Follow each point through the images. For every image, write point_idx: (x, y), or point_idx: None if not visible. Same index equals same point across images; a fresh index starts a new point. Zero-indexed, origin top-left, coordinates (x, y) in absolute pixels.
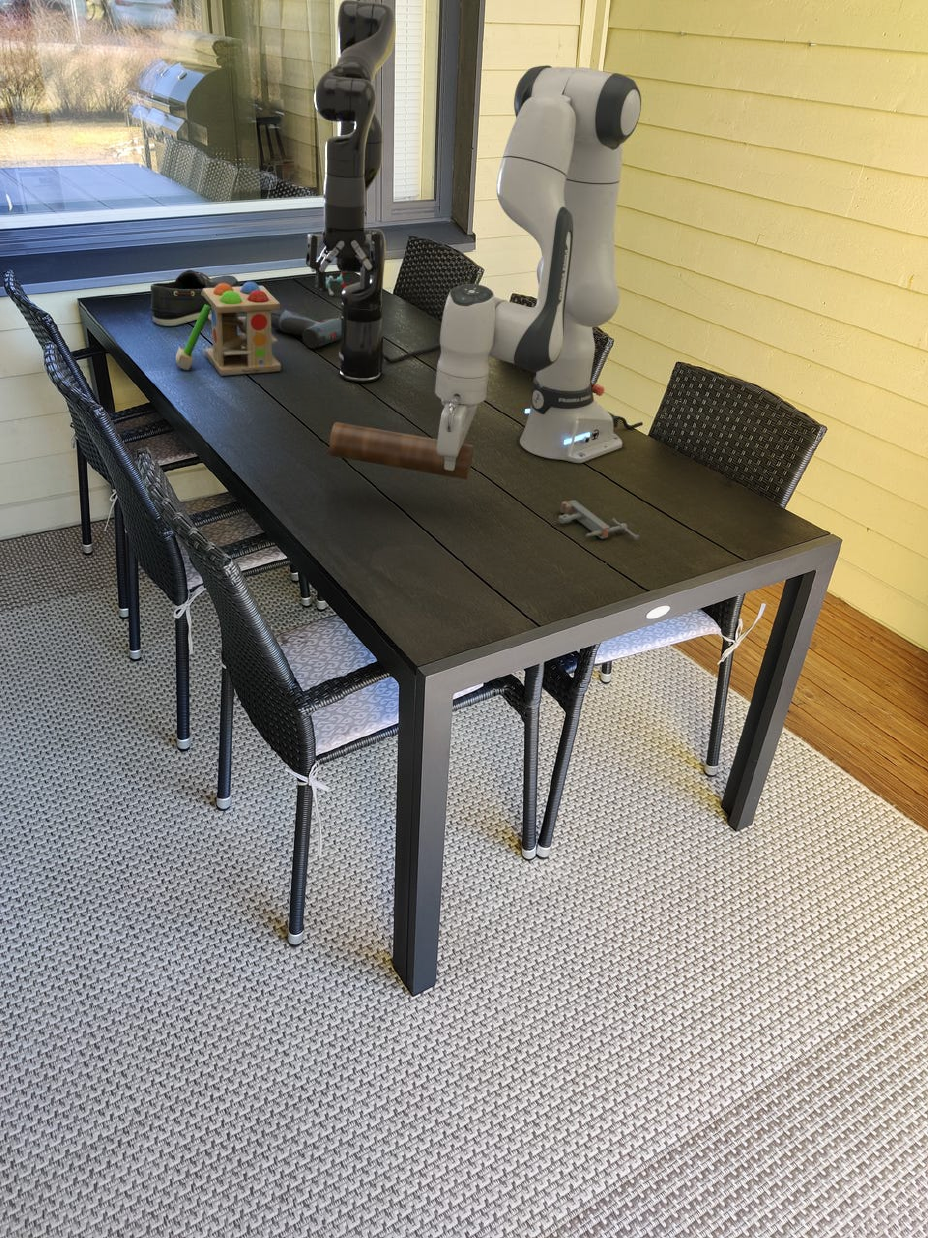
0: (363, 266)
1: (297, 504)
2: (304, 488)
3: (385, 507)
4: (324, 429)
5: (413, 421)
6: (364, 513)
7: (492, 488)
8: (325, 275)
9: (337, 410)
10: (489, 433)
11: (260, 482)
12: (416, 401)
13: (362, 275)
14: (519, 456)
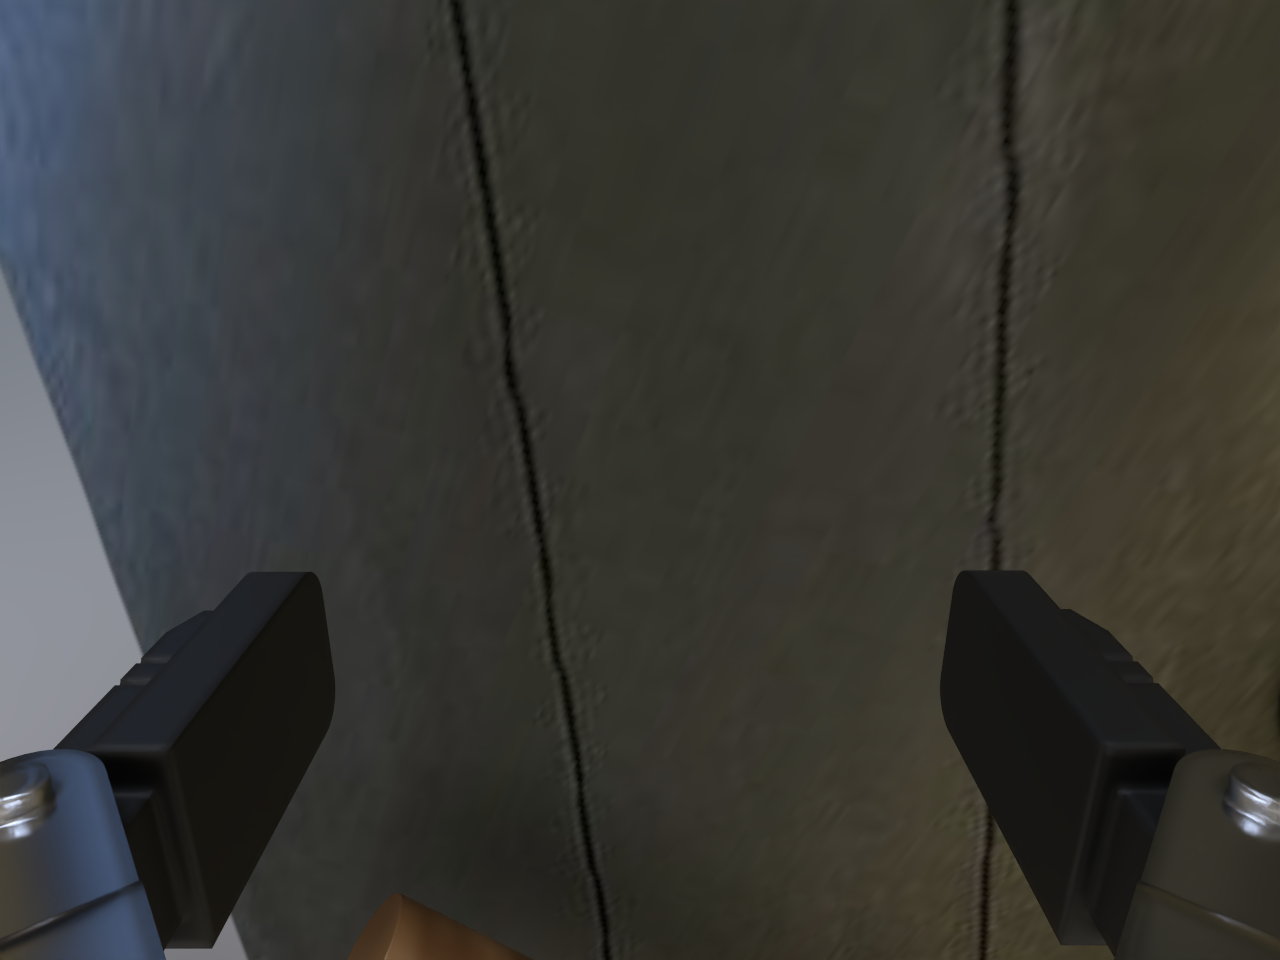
0: (1124, 898)
1: (286, 814)
2: (333, 729)
3: (558, 898)
4: (563, 259)
5: (1022, 289)
6: (481, 910)
7: (957, 887)
8: (231, 893)
9: (713, 32)
10: (1267, 509)
11: None
12: (1197, 29)
13: (1024, 764)
14: (1220, 722)
